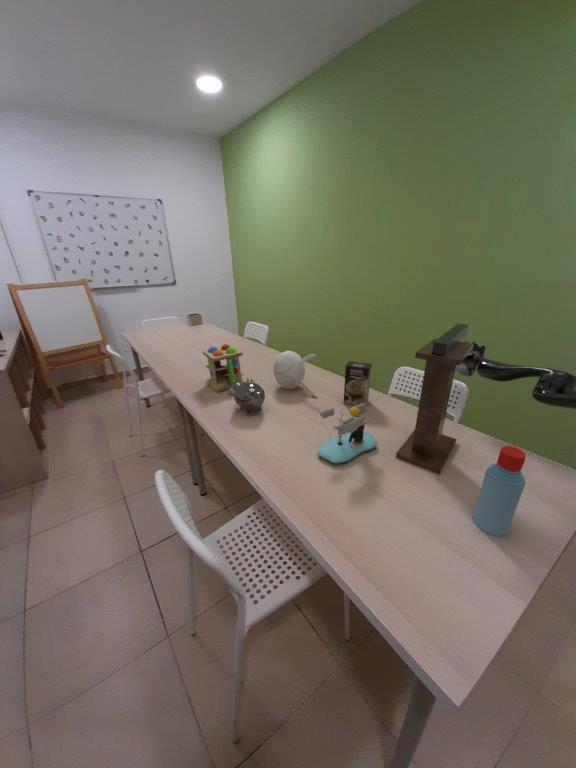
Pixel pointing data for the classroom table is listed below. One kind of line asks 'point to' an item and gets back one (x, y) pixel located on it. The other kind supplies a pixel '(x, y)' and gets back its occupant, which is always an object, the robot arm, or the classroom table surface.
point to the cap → (511, 458)
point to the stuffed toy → (291, 370)
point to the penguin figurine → (347, 437)
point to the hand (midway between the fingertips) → (457, 343)
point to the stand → (433, 409)
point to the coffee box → (357, 383)
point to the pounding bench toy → (223, 367)
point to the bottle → (498, 499)
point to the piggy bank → (248, 396)
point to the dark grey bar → (449, 339)
